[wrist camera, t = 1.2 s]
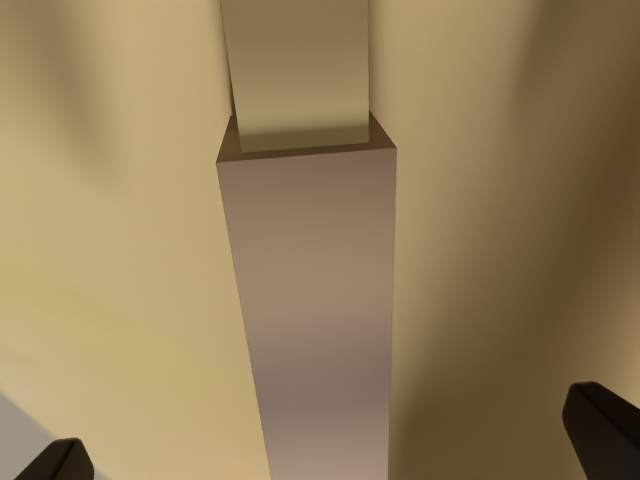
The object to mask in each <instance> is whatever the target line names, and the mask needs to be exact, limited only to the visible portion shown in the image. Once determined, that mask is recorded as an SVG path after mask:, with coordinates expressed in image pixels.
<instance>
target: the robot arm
mask: <svg viewBox="0 0 640 480" xmlns="http://www.w3.org/2000/svg"><path fill="white" fill-rule="evenodd" d="M562 419H563V424H564V426H565V429H566V431H567V433H568V436H569V438H570V440H571V443H572V445H573V447H574V450H575V452H576V454H577V456H578V459H579V461H580V463H581V466H582V468H583V470H584V472H585V475H586V477H587V479H588V480H640V409H639V408H637V407H636V406H634V405H632V404H631V403H629V402H628V401H626V400H625V399H623V398H621V397H620V396H618V395H617V394H615V393H613V392H612V391H610V390H609V389H607V388H605V387H604V386H602V385H601V384H599V383H597V382H593V381H588V382H578V383H573V384H572V385H571V386H570V388H569V391H568V394H567V398H566V401H565V404H564V408H563V412H562ZM14 480H94V467H93V464H92V462H91V460H90V457H89V455H88V453H87V451H86V449H85V447H84V445H83V443H82V441H81V440H80V439H79V438H66V439H58V440H55V441H53V442H52V443H50V444H49V445H48V446H47V447H46V448H45V449H44V450H43V451H42V452H41V453H40V454H39V455H38V456H37V457H36V458H35V459H34V460H33V461H32V462H31V463H30V464H29V465H28V466H27V467H26V468H25V469H24V470H23V471H22V472H21V473H20V474H19V475H18V476H17V477H16V478H15V479H14Z"/></svg>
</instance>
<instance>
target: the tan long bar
mask: <svg viewBox="0 0 640 480" xmlns="http://www.w3.org/2000/svg"><path fill="white" fill-rule="evenodd" d="M220 5H221V12H222V19H223V26H224V33H225V40H226V47H227V54H228V61H229V68H230V75H231V81H232V88H233V95H234V102H235V109H236V116H230V120H229V123H228V126H227V129H226V132H225V135H224V139H223V142H222V145H221V148H220V151H219V154H218V157H217V161H216V167H217V172H218V178H219V184H220V190H221V195H222V201H223V207H224V212H225V218H226V224H227V230H228V235H229V241H230V247H231V252H232V258H233V264H234V270H235V275H236V281H237V287H238V292H239V298H240V304H241V310H242V315H243V321H244V327H245V332H246V338H247V344H248V350H249V355H250V361H251V367H252V372H253V378H254V384H255V390H256V395H257V401H258V407H259V412H260V418H261V424H262V430H263V435H264V441H265V447H266V452H267V458H268V464H269V470H270V475H271V480H388V447H389V411H390V375H391V339H392V303H393V267H394V230H395V194H396V158H397V148H396V146H395V145H394V143H393V142H392V141H391V139H390V138H389V137H388V135H387V134H386V132H385V131H384V130H383V128H382V127H381V126H380V124H379V123H378V122H377V120H376V119H375V117H374V116H373V115H372V113H371V112H370V111H369V63H368V0H220Z"/></svg>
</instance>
